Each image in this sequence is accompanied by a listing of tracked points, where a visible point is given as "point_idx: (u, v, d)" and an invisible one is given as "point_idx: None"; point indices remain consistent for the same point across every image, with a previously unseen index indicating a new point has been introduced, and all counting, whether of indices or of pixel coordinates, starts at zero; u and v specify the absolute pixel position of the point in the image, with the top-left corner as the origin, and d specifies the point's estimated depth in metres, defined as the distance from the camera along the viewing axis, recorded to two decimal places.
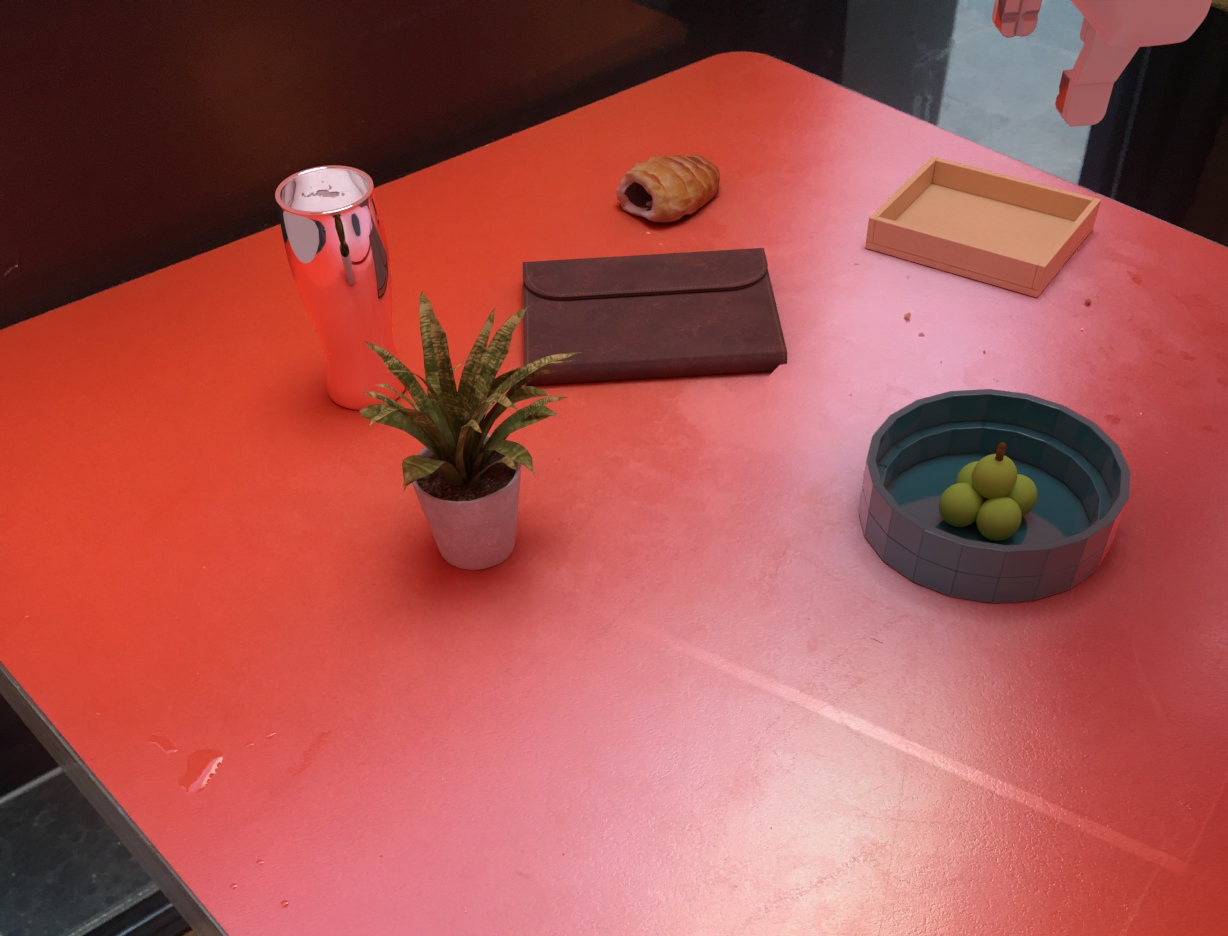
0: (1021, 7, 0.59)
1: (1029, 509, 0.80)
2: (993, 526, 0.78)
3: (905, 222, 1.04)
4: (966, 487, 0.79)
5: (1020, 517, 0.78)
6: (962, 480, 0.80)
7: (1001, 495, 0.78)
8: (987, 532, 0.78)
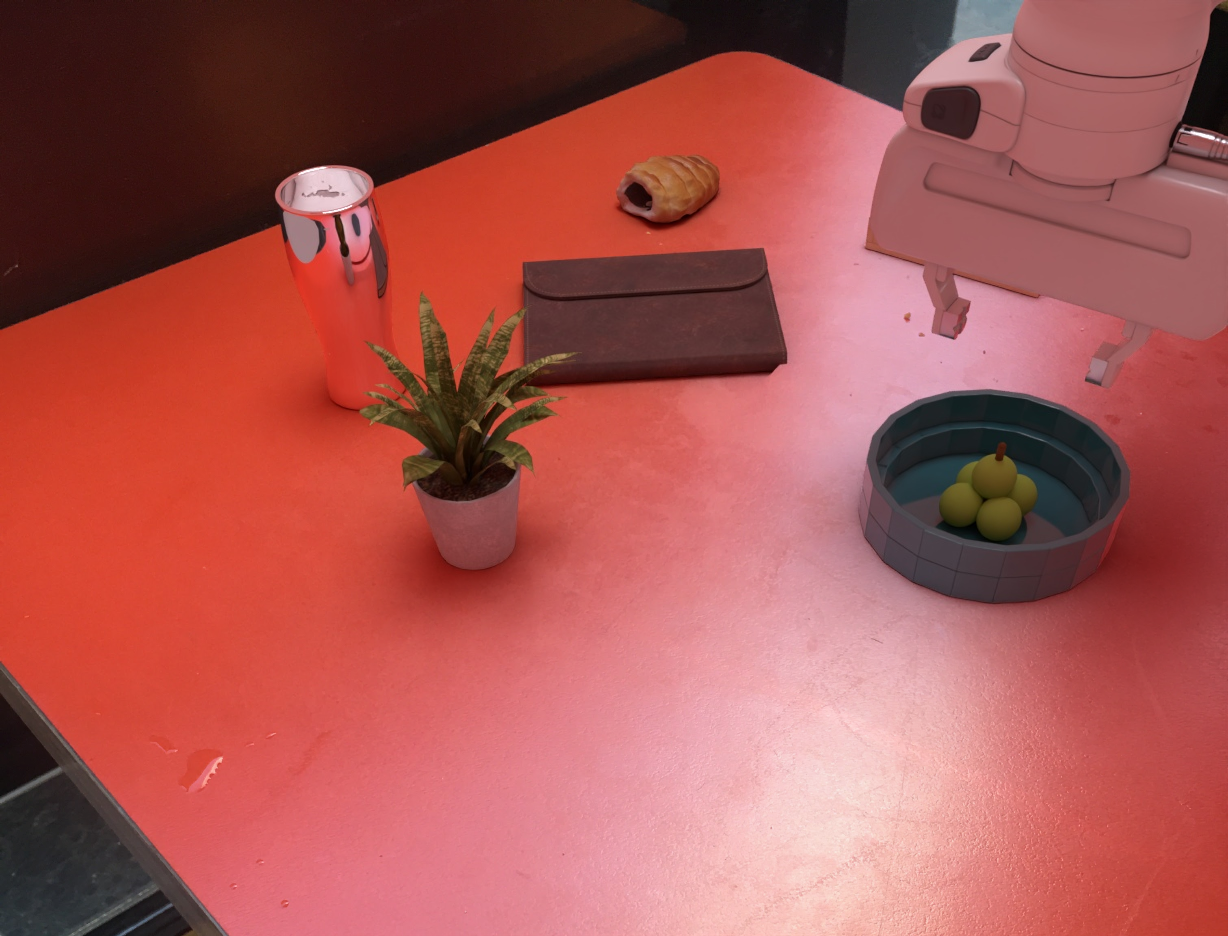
0: (960, 315, 0.72)
1: (1029, 509, 0.80)
2: (993, 526, 0.78)
3: None
4: (966, 487, 0.79)
5: (1020, 517, 0.78)
6: (962, 480, 0.80)
7: (1001, 495, 0.78)
8: (987, 532, 0.78)
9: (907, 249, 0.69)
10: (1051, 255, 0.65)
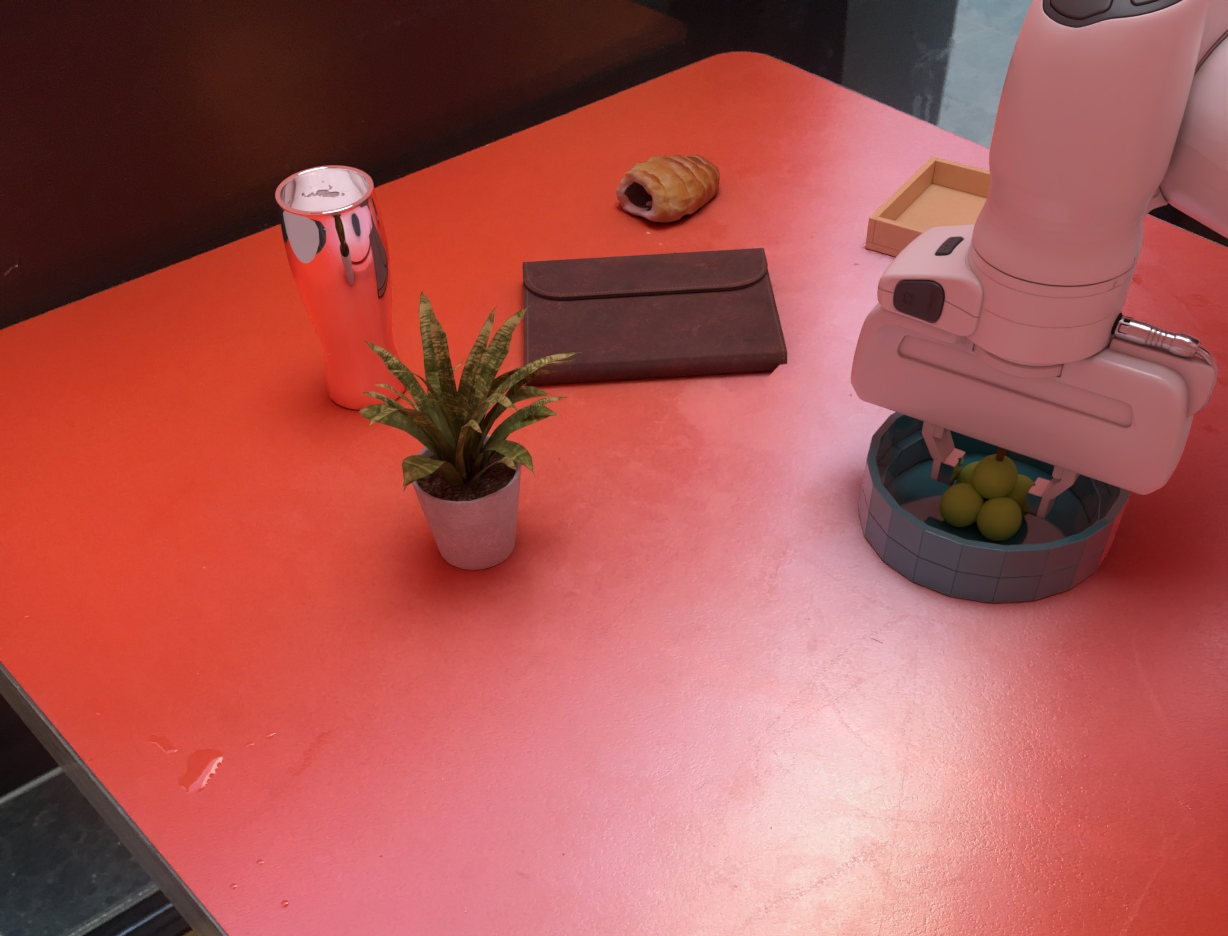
0: (956, 465, 0.79)
1: None
2: (993, 526, 0.78)
3: (905, 222, 1.04)
4: (967, 487, 0.79)
5: (1021, 517, 0.78)
6: (962, 480, 0.80)
7: (1002, 495, 0.78)
8: (988, 532, 0.78)
9: (884, 403, 0.77)
10: (1011, 417, 0.73)
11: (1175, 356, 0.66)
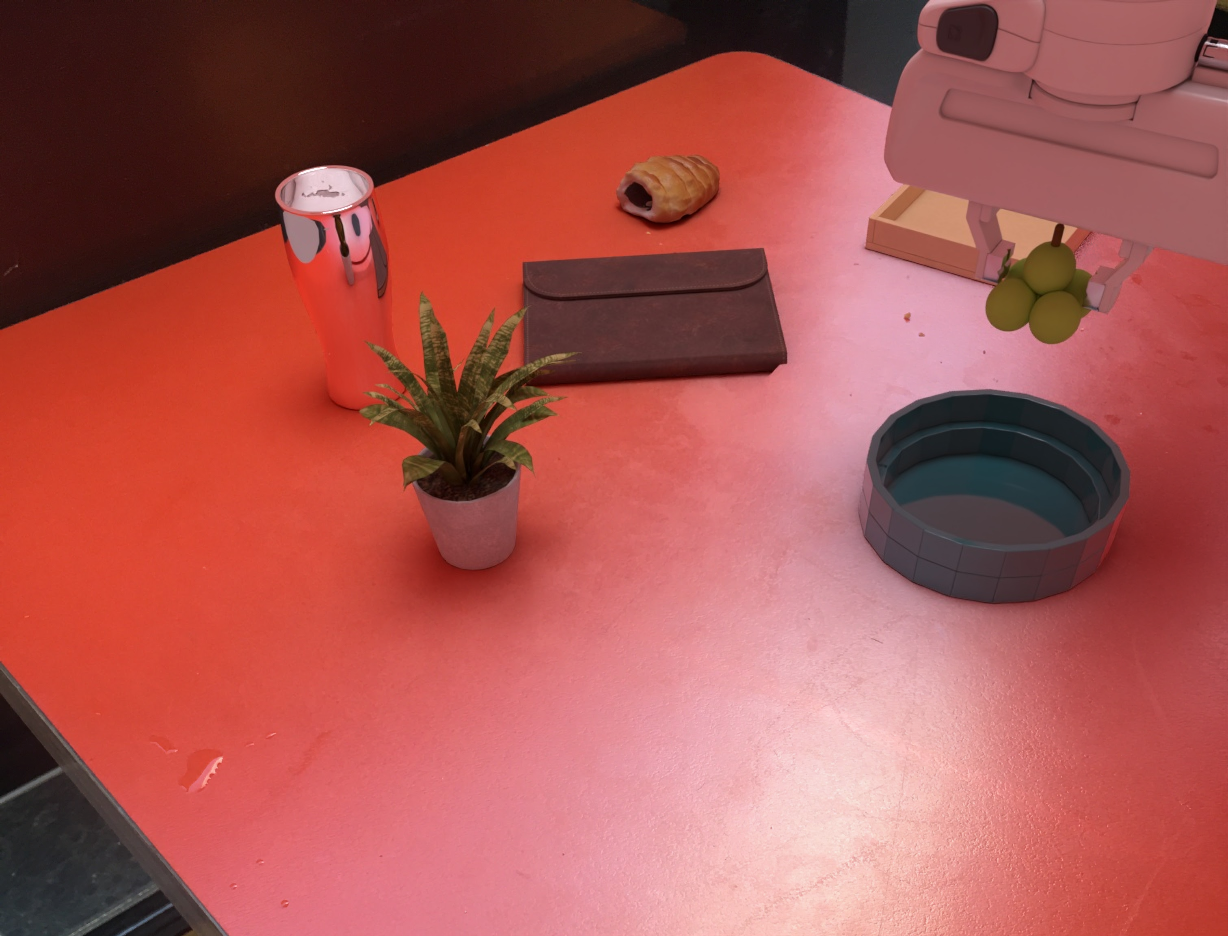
0: (1005, 258, 0.70)
1: (1088, 309, 0.70)
2: (1049, 323, 0.68)
3: (905, 222, 1.04)
4: (1017, 282, 0.69)
5: (1080, 313, 0.68)
6: (1011, 279, 0.71)
7: (1058, 289, 0.68)
8: (1042, 332, 0.69)
9: (923, 182, 0.67)
10: (1072, 181, 0.63)
11: None
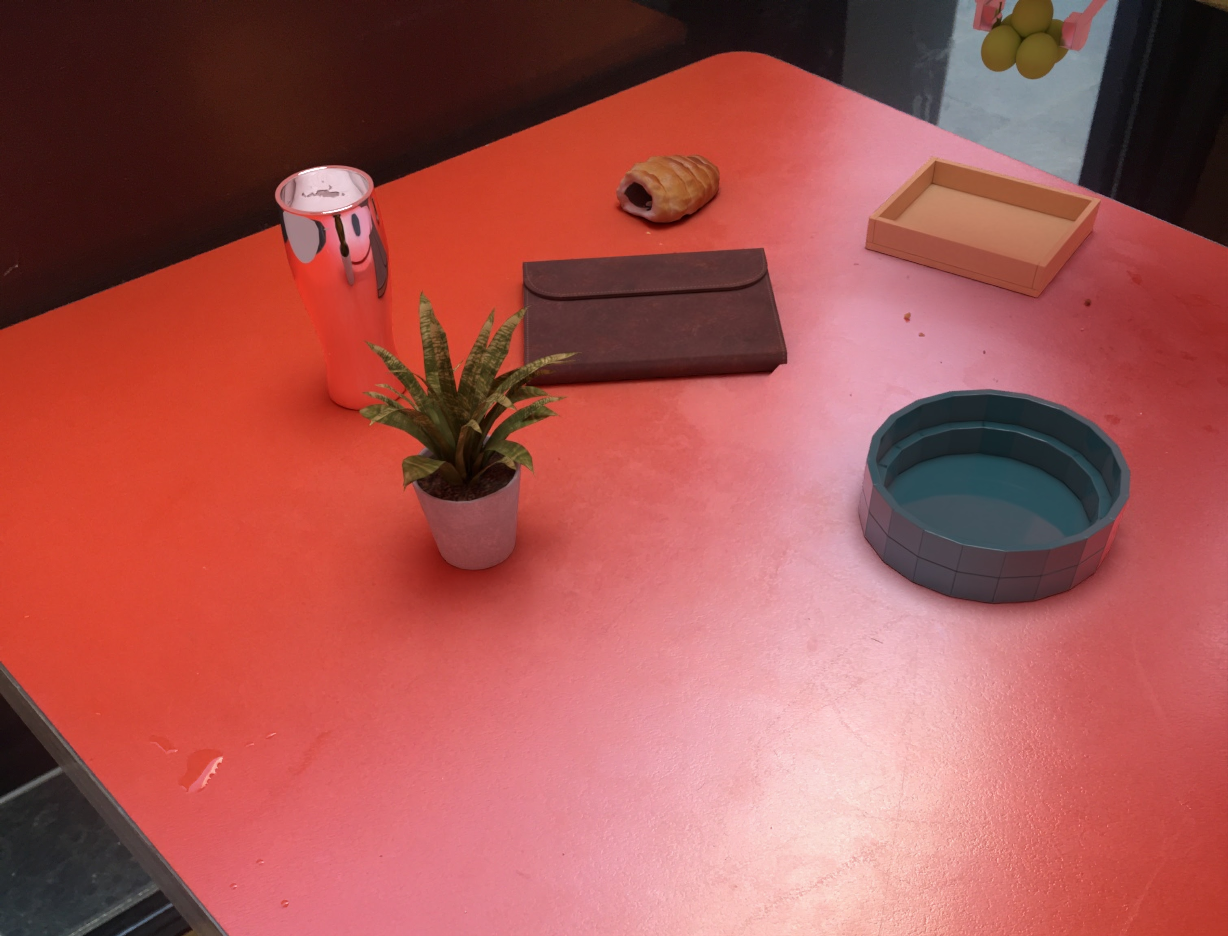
0: (997, 10, 0.87)
1: (1063, 51, 0.87)
2: (1032, 57, 0.85)
3: (905, 222, 1.04)
4: (1006, 26, 0.86)
5: (1056, 50, 0.85)
6: None
7: (1039, 30, 0.85)
8: (1026, 66, 0.86)
9: None
10: None
11: None
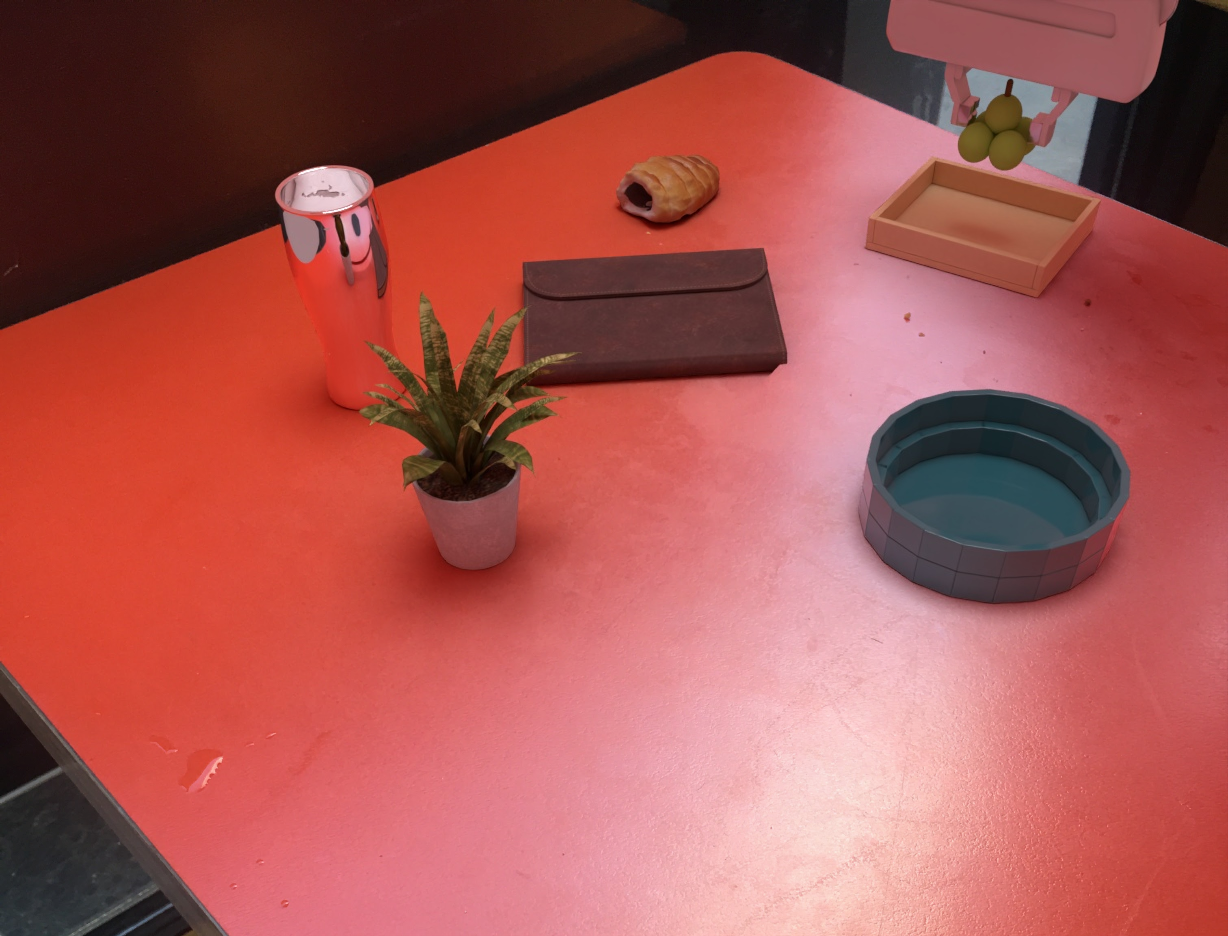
0: (972, 109, 0.96)
1: (1032, 145, 0.96)
2: (1002, 152, 0.95)
3: (905, 222, 1.04)
4: (980, 124, 0.96)
5: (1025, 146, 0.95)
6: None
7: (1009, 128, 0.95)
8: (997, 160, 0.95)
9: (914, 49, 0.94)
10: (1018, 44, 0.90)
11: None
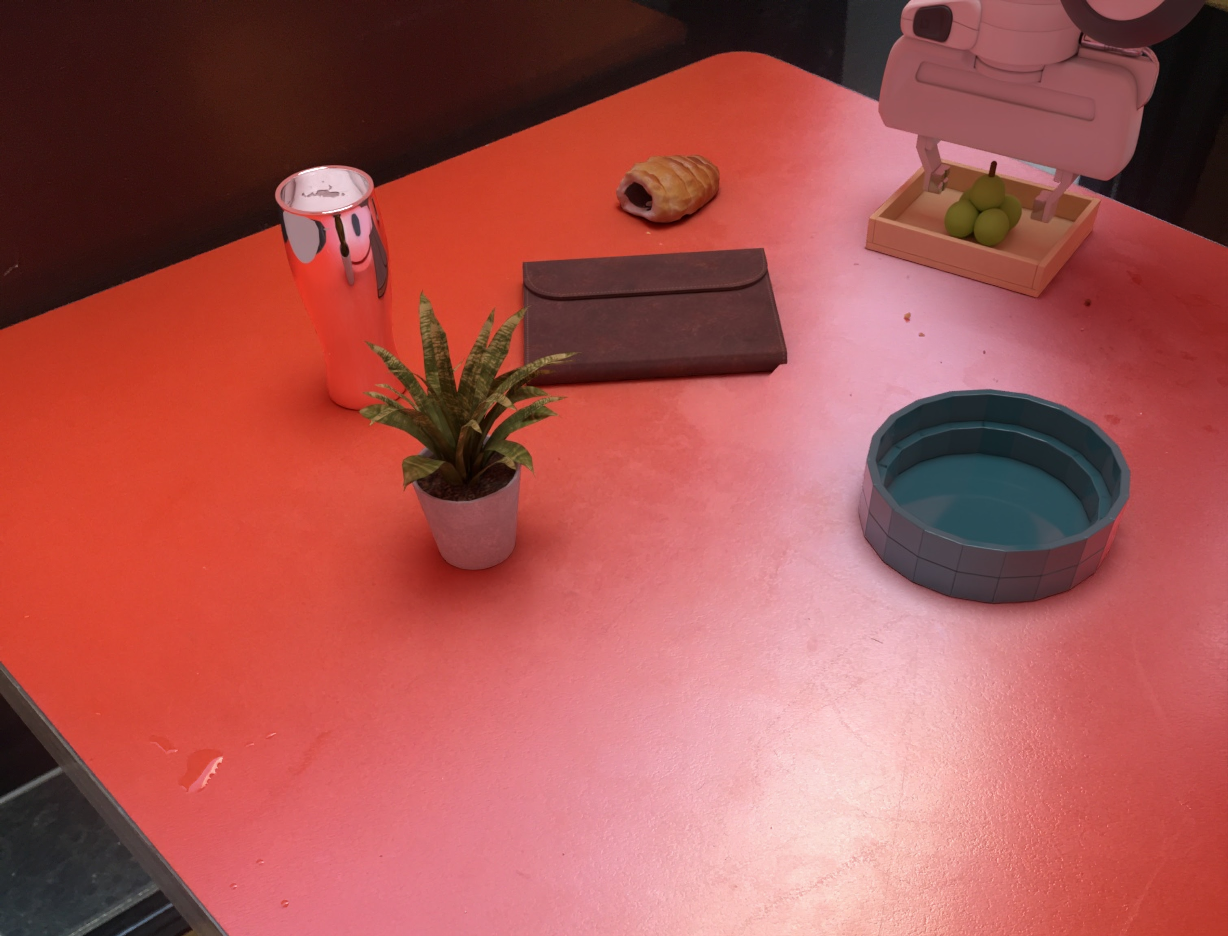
0: (943, 176, 1.02)
1: (1014, 222, 1.01)
2: (986, 230, 1.00)
3: (905, 222, 1.04)
4: (966, 202, 1.00)
5: (1008, 224, 1.00)
6: None
7: (993, 206, 1.00)
8: (982, 236, 1.00)
9: (905, 126, 0.99)
10: (1003, 124, 0.94)
11: (1126, 56, 0.88)
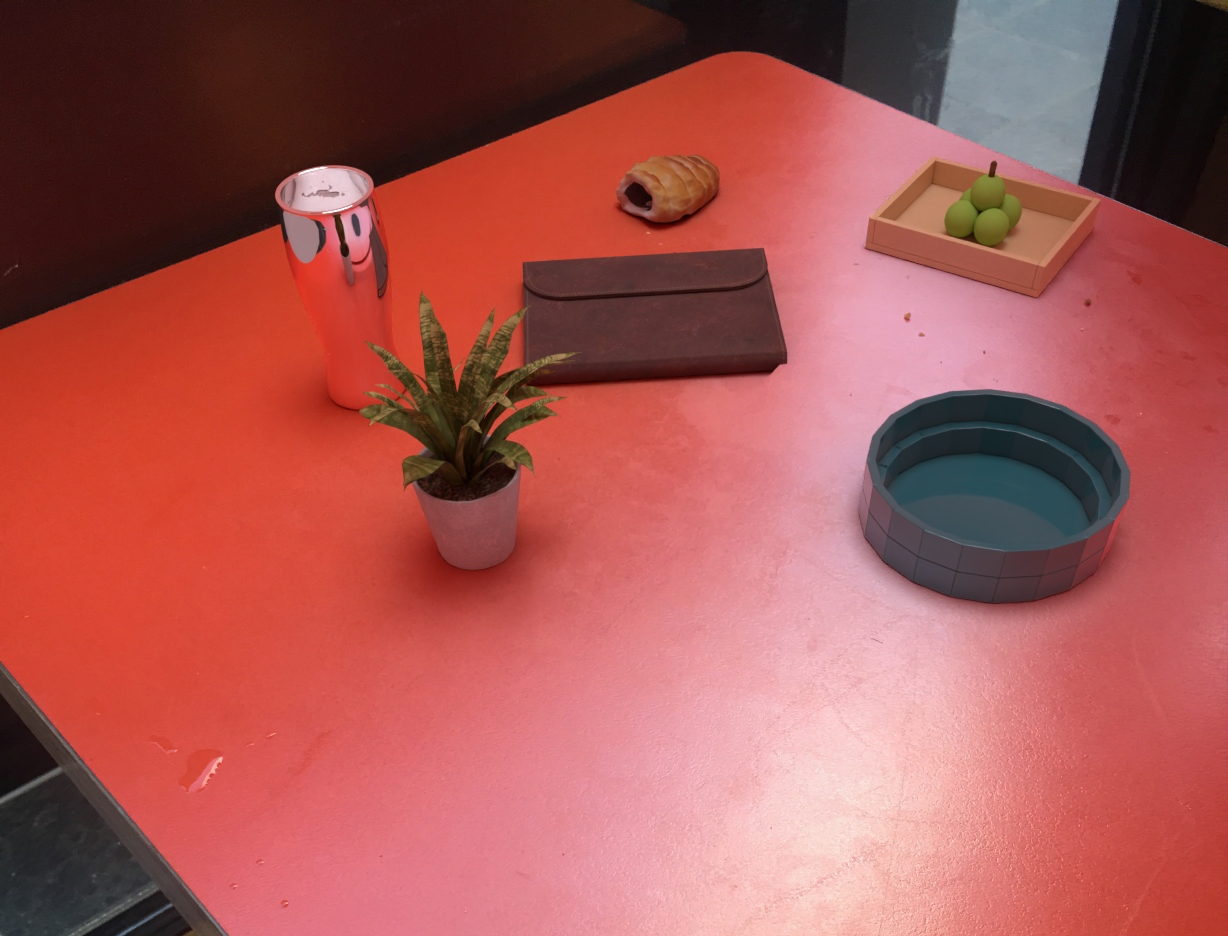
0: None
1: (1014, 222, 1.01)
2: (986, 230, 1.00)
3: (905, 222, 1.04)
4: (966, 202, 1.00)
5: (1008, 224, 1.00)
6: None
7: (993, 206, 1.00)
8: (982, 236, 1.00)
9: None
10: None
11: None
